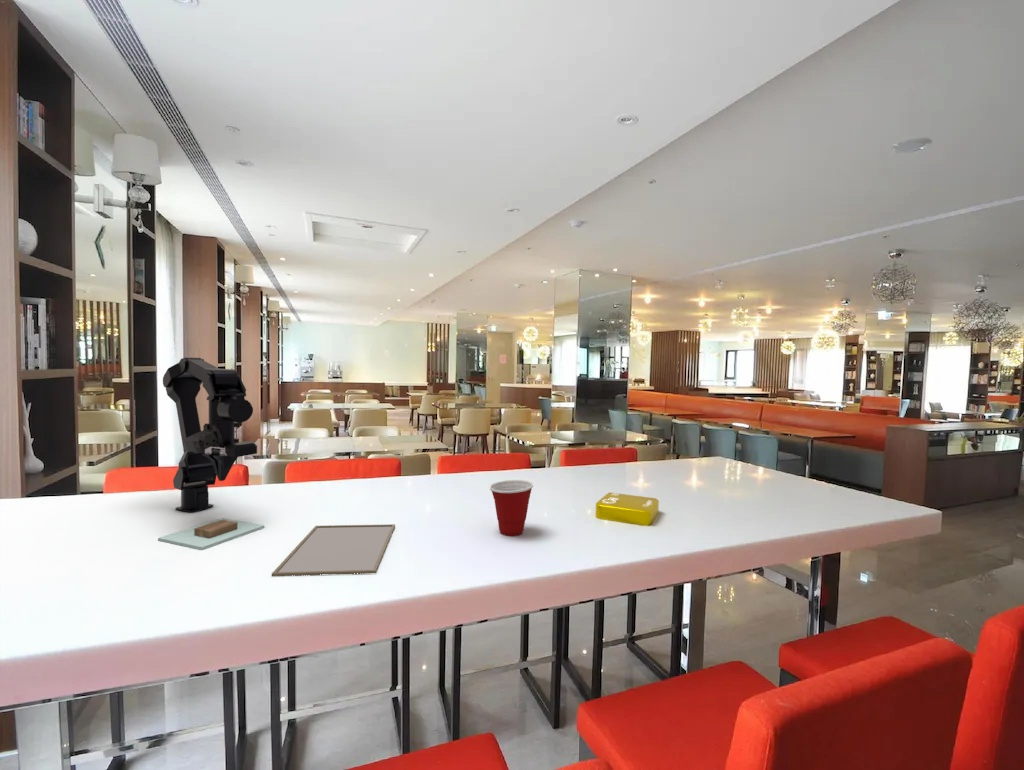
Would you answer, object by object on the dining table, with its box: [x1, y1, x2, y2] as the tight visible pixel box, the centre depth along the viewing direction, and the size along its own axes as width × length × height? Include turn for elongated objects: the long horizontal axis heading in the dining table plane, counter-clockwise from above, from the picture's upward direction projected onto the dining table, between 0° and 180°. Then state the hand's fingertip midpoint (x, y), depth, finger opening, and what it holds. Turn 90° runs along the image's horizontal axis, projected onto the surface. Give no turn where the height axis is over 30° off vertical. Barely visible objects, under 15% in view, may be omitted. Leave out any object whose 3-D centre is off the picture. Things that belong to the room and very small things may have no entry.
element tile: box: [595, 492, 660, 527], centre depth 136 cm, size 15×15×5 cm
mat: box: [157, 517, 265, 551], centre depth 114 cm, size 14×16×1 cm
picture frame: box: [271, 524, 396, 577], centre depth 107 cm, size 19×1×28 cm
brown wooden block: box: [194, 520, 237, 538], centre depth 113 cm, size 2×7×5 cm
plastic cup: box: [489, 479, 534, 537], centre depth 119 cm, size 11×11×12 cm
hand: (221, 480), depth 123 cm, fingers closed
